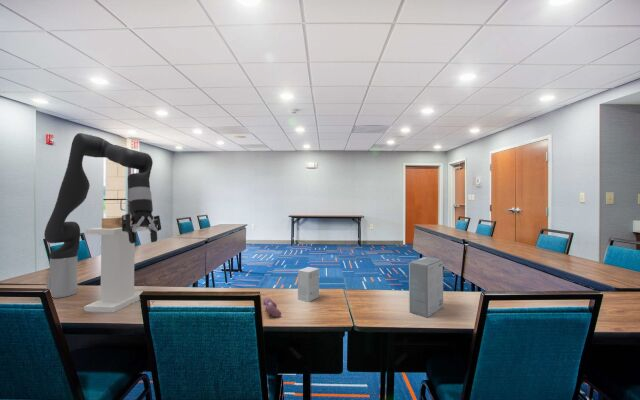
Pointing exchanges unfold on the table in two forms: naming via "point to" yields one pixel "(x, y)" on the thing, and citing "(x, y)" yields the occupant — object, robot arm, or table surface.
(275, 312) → the purple toy animal
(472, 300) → the table surface
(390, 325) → the table surface
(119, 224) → the baton
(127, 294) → the plinth
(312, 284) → the small box
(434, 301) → the hard drive box
